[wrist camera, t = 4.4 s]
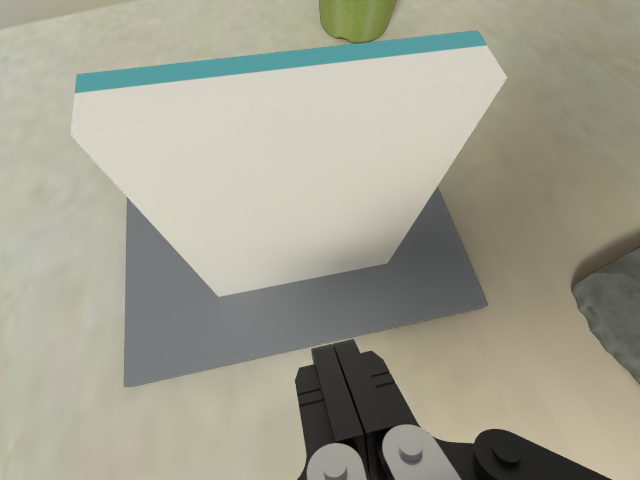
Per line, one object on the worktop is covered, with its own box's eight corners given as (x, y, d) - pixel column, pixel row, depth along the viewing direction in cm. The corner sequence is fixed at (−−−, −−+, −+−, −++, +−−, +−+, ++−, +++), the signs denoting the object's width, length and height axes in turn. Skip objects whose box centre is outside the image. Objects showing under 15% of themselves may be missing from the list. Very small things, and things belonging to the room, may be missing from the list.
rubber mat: (133, 106, 25) (128, 97, 25) (384, 75, 28) (386, 66, 27) (131, 386, 17) (123, 386, 17) (481, 308, 20) (488, 305, 19)
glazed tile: (215, 267, 19) (76, 74, 8) (379, 236, 21) (477, 30, 9) (218, 296, 19) (70, 134, 7) (387, 263, 20) (507, 77, 8)
